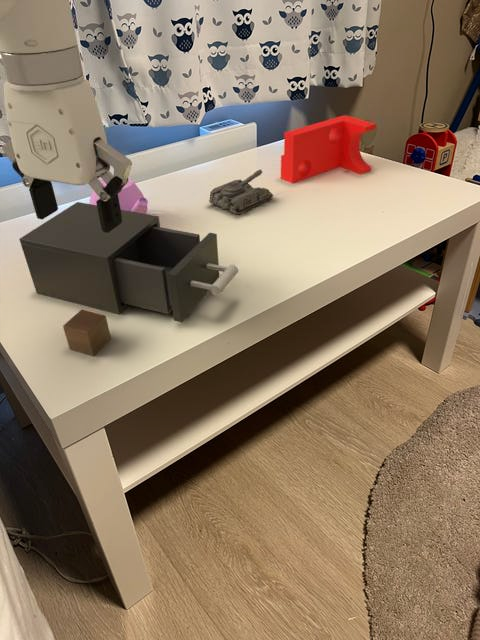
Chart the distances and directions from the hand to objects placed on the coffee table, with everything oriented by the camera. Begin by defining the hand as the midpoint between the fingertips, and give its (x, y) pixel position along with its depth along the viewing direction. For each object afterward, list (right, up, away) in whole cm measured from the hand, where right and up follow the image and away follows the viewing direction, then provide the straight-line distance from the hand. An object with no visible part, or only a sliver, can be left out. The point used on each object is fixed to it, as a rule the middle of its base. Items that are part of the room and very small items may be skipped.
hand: (79, 221), depth 63 cm
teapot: (-3, +6, +37) cm, 38 cm away
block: (-1, -15, +8) cm, 17 cm away
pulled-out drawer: (+9, -8, +16) cm, 20 cm away
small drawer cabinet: (-3, -6, +21) cm, 22 cm away
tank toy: (+20, +12, +43) cm, 49 cm away
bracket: (+39, +20, +54) cm, 69 cm away
